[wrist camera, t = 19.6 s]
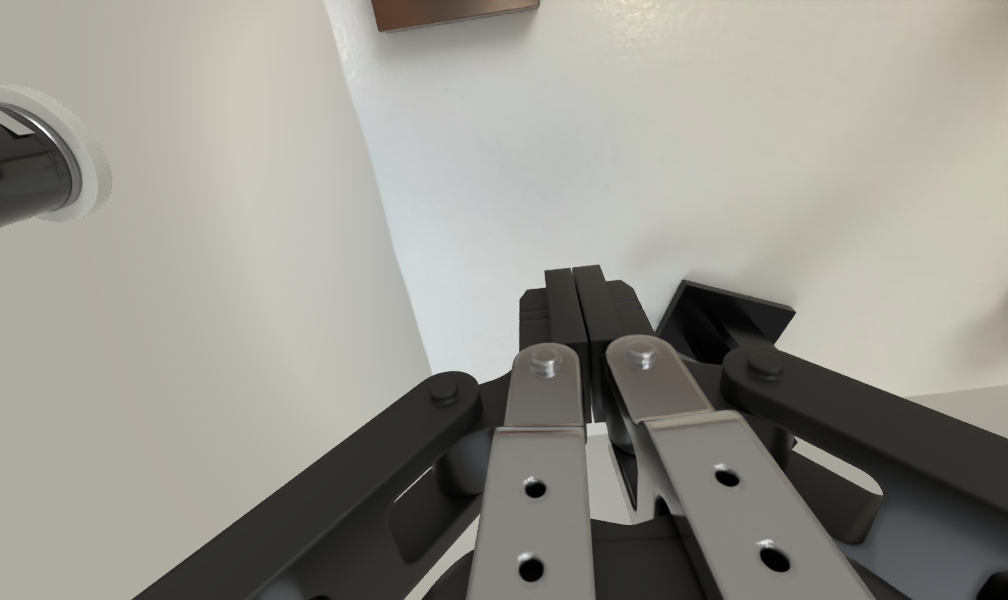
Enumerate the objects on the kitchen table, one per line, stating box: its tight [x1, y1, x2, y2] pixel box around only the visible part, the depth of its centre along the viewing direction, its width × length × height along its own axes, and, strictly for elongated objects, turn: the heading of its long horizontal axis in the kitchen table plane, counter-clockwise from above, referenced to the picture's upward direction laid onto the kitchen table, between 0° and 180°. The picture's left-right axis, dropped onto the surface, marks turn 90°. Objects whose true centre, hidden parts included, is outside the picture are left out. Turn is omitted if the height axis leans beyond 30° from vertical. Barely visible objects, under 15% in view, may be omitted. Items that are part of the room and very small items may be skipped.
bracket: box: [655, 280, 797, 450], centre depth 40 cm, size 12×9×14 cm
